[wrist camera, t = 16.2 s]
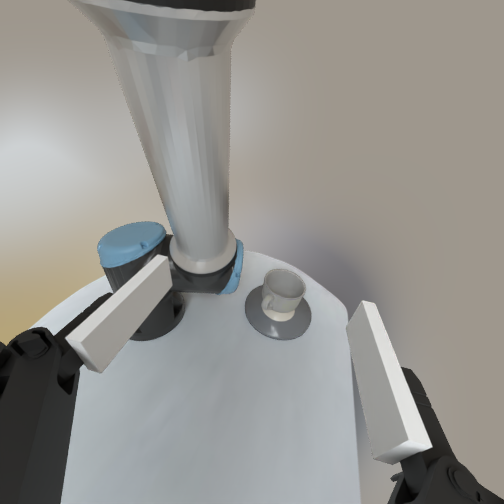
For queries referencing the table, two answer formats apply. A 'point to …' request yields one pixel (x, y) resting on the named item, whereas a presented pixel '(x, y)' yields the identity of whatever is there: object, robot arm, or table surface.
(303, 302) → the saucer
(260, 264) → the table surface
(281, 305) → the teacup
